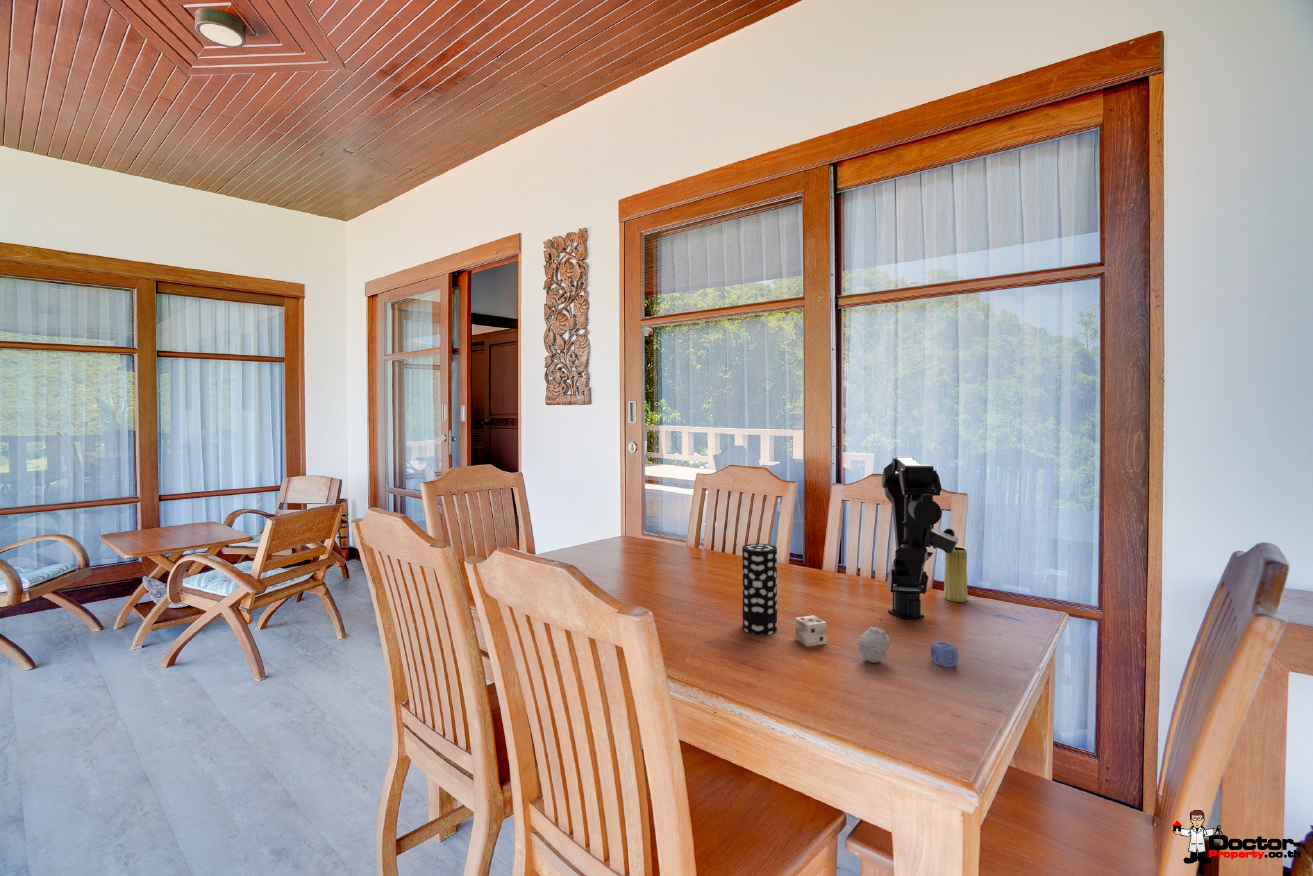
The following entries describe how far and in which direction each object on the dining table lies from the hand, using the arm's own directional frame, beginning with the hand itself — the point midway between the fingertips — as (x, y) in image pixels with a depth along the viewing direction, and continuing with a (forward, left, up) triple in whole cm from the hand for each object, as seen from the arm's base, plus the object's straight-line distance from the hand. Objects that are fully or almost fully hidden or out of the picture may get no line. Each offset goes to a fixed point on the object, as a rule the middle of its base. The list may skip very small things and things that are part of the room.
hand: (917, 583), depth 138 cm
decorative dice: (+15, -7, -12) cm, 21 cm away
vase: (-16, +29, -12) cm, 35 cm away
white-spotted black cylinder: (-16, -33, -12) cm, 39 cm away
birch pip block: (-5, -26, -12) cm, 29 cm away
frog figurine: (+9, -20, -12) cm, 25 cm away
